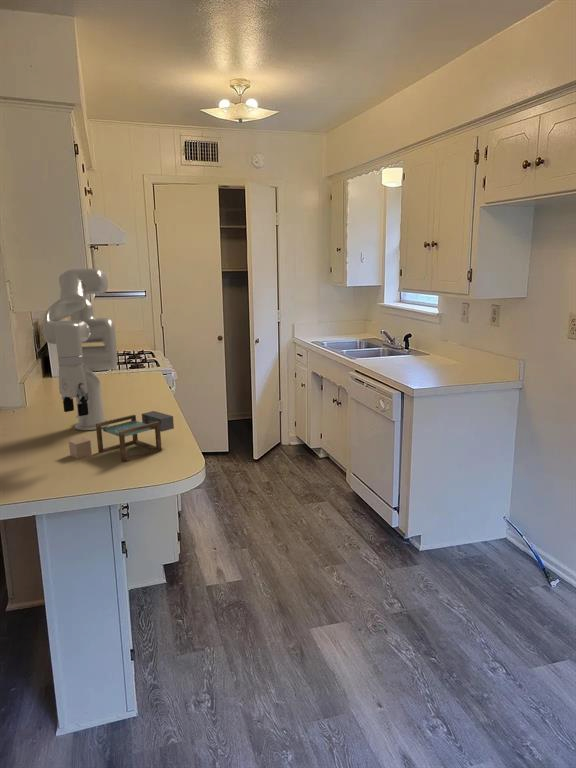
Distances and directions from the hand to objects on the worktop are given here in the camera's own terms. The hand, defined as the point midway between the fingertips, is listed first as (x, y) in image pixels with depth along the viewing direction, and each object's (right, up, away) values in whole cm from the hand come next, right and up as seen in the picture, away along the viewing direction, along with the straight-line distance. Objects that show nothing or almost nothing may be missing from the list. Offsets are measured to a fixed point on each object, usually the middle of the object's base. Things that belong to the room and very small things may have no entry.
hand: (76, 413), depth 181 cm
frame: (+16, -13, +6) cm, 22 cm away
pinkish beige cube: (0, -14, +3) cm, 15 cm away
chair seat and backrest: (+19, -7, +7) cm, 21 cm away
